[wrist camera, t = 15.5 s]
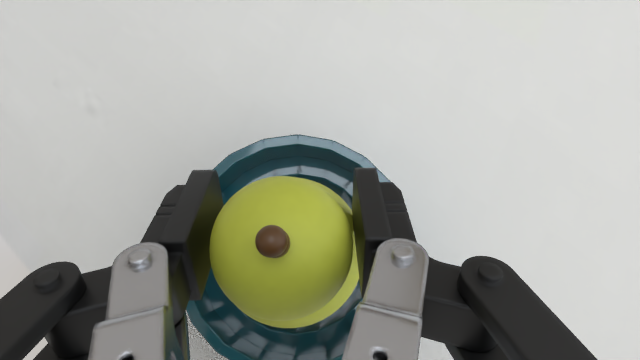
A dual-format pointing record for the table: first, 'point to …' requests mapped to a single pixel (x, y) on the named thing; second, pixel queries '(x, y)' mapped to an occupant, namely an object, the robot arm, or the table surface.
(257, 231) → the pear
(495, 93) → the table surface
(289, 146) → the bowl
